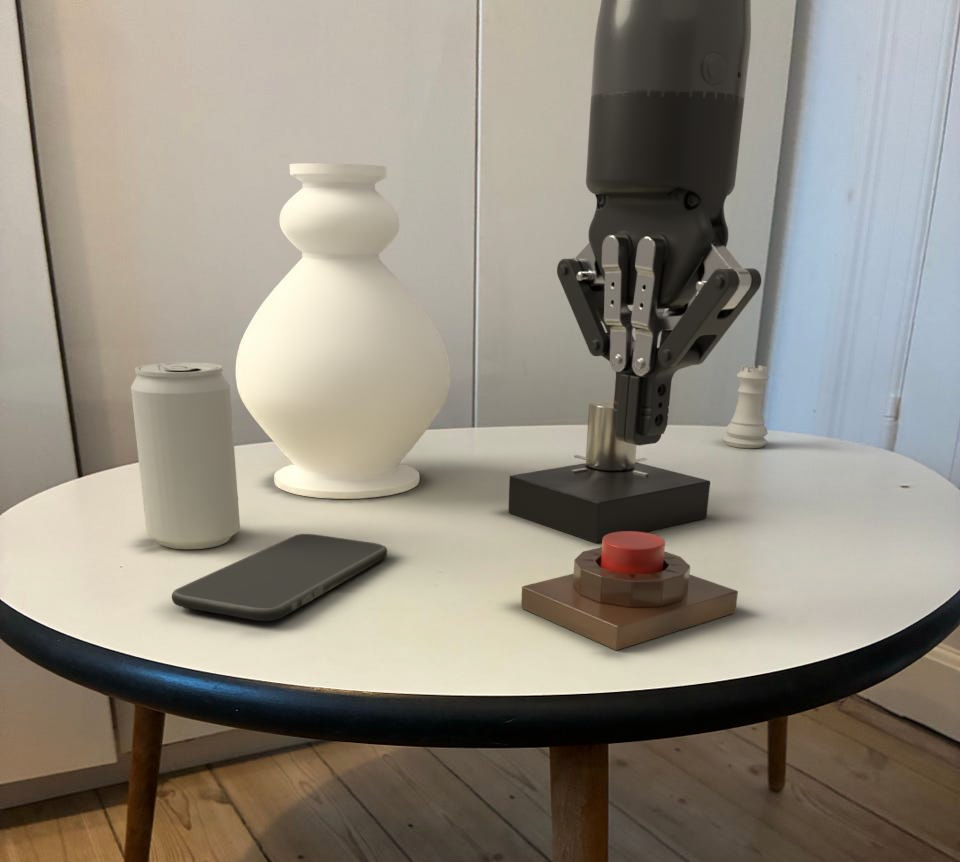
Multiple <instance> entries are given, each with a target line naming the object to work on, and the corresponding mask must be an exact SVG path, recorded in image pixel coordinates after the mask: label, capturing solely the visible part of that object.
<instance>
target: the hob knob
mask: <svg viewBox="0 0 960 862" xmlns="http://www.w3.org/2000/svg"><path fill="white" fill-rule="evenodd" d="M614 402H615V401H614V398H612V399H611V398H609V399H608V398H606V399H594V400H591V401H589V403H588V414H587V415H588V416H587V417H588V418H587V430H586V431H587V432H586V448H585V449H586V450H585V457H586V460H585V463H586V466H588V467H590V468H593V469H598V470H606V471H623V470H629V469H632V468H634V467H635V459H637V458H636V457H637V446H638V445H634V444H630V443H627V442H623V441H619V440H617V438H616V429H614V424H613V410H614V408H613V407H614Z"/></svg>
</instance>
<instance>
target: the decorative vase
mask: <svg viewBox="0 0 960 862" xmlns="http://www.w3.org/2000/svg"><path fill="white" fill-rule="evenodd" d="M289 175H290V177H292V178H294V179H296V180H298V181H300V182H301V187H302V188H300V189H299V190H298V191H297V192H296V193H295V194H293V196H291V197H290V198H289V199H288V200H287V201H286V202H285V204H284V205H283V207H282V208H281V210H280V213H279V220H278V221H279V222H278V223H279V227H280V230H281V232H282V233H283V234H284V236H285V237H286V238H287V240H288V241H289V242H290V243H291V244H292V245H293V246H294V247H295V248H296V249H297V250H298V251H300V252H301V258H300V259H299V260H298V262H297V263H296V264H294V266H293V267H292V268H291V269H290V271H288V272H287V274H286V275H285V276H284V277H283V278H282V279H281V280H280V281H279V282H278V283H277V285H276V286H275V287H274V288H273V290H271V292H270V293H269V294H268V296H267V297H266V298H265V299H264V301H263V302H262V303H261V305H260V306H259V308H258V309H257V311H256V312H255V313H254V315H253V317H252V319H251V320H250V322H249V324H248V326H247V327H246V329H245V331H244V334H243V336H242V338H241V340H240V343H239V347H238V348H237V353H236V358H235V382H236V383H235V384H236V388H237V391H238V395H239V397H240V399H241V401H242V403H243V405H244V406H245V408H246V409H247V411H248V412H249V414H250V415H251V416H252V418H253V419H254V420H255V422H256V423H257V424H258V425H259V427H260V428H261V429H262V430H263V431H264V433H265V434H266V435H267V436H268V437H269V438H270V439H271V441H272V442H273V443H274V444H275V445H276V446H277V447H278V448H279V450H280V451H281V452H282V453H283V454H284V455H285V456H286V458H287V459H289V461H290V462H291V463H292V464H289V465H287V466H283V467H282V468H280V469H278V470H277V471H276V472H275V473H274V475H273V480H274V485H275V486H276V487H277V488H278V489H280V490H282V491H283V492H287V493H290V494H294V495H297V496H302V497H309V498H317V499H331V500H332V499H333V500H334V499H335V500H355V499H372V498H380V497H387V496H392V495H398V494H402V493H405V492H407V491H410V490H412V489H414V488H416V487H417V486H418V485H419V483H420V472H419V471H418V470H417V469H416V468H414V467H412V466H410V465H408V464H404V463H401V462H402V461H403V460H404V459H405V457H406V456H407V455H408V454H409V453H410V452H411V450H412V449H413V447H415V446H416V444H417V443H418V441H419V440H420V439H421V438H422V437H423V435H424V434H425V432H426V431H427V430H428V428H430V426H431V425H432V424H433V422H434V420H435V419H436V418H437V416H438V415H439V413H440V412H441V411H442V408H443V407H444V405H445V403H446V401H447V399H448V395H449V392H450V387H451V365H450V359H449V355H448V351H447V348H446V345H445V343H444V341H443V339H442V337H441V335H440V333H439V331H438V329H437V328H436V326H435V324H434V322H433V321H432V319H431V318H430V316H429V315H428V313H427V312H426V310H425V309H424V308H423V306H422V305H421V304H420V302H419V301H418V299H416V298H415V296H414V295H413V294H412V293H411V292H410V290H408V288H407V287H406V286H405V285H404V284H403V282H401V281H400V279H398V277H397V276H396V275H395V273H393V272H392V271H391V269H390V268H388V266H386V264H385V263H383V262H382V260H381V259H380V254H381V253H382V252H384V250H385V249H386V248H388V246H389V245H391V243H392V242H393V241H394V239H395V238H396V236H397V235H398V233H399V231H400V218H399V215H398V212H397V211H396V209H395V207H394V206H393V205H392V204H391V202H389V200H388V199H386V198H385V197H384V196H383V195H382V194H381V193H380V192H378V191H377V190H376V184H377V183H380V182H381V181H383V180H385V179H387V166H384V165H375V164H373V165H372V164H358V163H357V164H355V163H331V162H330V163H328V162H327V163H326V162H324V163H323V162H321V163H320V162H319V163H317V162H308V163H307V162H306V163H305V162H304V163H303V162H301V163H289Z"/></svg>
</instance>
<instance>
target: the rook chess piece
mask: <svg viewBox="0 0 960 862" xmlns="http://www.w3.org/2000/svg"><path fill="white" fill-rule="evenodd" d="M767 370H768V367H767V366H765V365H757V367H756V364H750V365H749V366H748V365H746V364H743V365H741V367H740V371H739V372H738V373H737V374H736V378H737V379H738V381H739V388H738V389H737V392H738V397H737V402H736V407H735V411H734V414H733V417H732V418H730V422H729V424H727V426H726V427H725V433H727V435H726V436H725V437H724V438H723V440H724V441H725V443H726V445H727V446H728V447H729V446H730V447H733V448H737V449H738V448H740V449H761V448H763V447H764V446H765V445H766V444H767V443H768V440H767V439H766V438H765V437H766V436H767V435H768V433H769V432H768V429H767V427H766V426H765V421H764V418H763V397H764V394H766V391H765V387H764V386H765V384H766V382H767V381H768V380H769V379H770V376H769V374H768V372H767Z"/></svg>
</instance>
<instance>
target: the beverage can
mask: <svg viewBox="0 0 960 862" xmlns="http://www.w3.org/2000/svg"><path fill="white" fill-rule="evenodd" d="M223 371H224V367H223V366H222V364H218V363H212V362H202V361H201V362H199V361H169V362H168V361H166V362H153V363H145V364H140V365H136V366H135V367H134V373H135V374H136V377H135V378H134V380H133V382H132V384H131V386H130V393H131V402H132V411H133V419H134V421H133V422H134V431H135V439H136V449H137V457H138V466H139V467H138V468H139V474H140V475H139V476H140V485H141V494H142V503H143V512H144V520H145V530H146V531H145V532H146V534H147V535H148V536H149V537H150V538H151V539H153V540H155V541H157V542H158V543H159V544H160V545H161V546H164V547H166V548H169V549H170V548H171V549H176V550H202V549H208V548H209V549H210V548H214V547H215V548H216V547H219V546H221V545H224V544H226V543H228V541H230V540H231V537H232V536H234V535H235V534H237V533H238V532H239V530H240V527H241V521H240V508H239V506H240V505H239V496H238V495H239V494H238V480H237V467H236V454H235V453H236V452H235V439H234V424H233V413H232V399H231V397H232V396H231V386H230V383H229V382H228V381H227V379H226V377H224V376H223V373H222V372H223Z"/></svg>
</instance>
